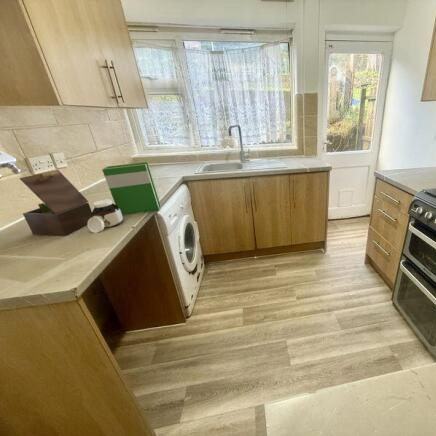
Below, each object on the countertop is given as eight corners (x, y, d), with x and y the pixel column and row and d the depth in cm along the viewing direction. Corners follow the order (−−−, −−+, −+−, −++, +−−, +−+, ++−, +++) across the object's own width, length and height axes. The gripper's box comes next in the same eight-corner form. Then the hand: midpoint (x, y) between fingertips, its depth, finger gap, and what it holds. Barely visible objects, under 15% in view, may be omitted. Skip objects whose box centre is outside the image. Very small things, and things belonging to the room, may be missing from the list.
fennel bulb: (66, 226, 110) (54, 201, 105) (53, 231, 106) (39, 205, 101) (59, 224, 112) (47, 200, 107) (46, 229, 108) (33, 204, 103)
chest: (33, 234, 106) (22, 213, 102) (65, 220, 119) (57, 201, 115) (66, 236, 103) (56, 214, 99) (95, 221, 117) (88, 202, 113)
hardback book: (160, 206, 133) (147, 162, 123) (159, 210, 126) (145, 164, 116) (123, 212, 127) (106, 166, 117) (120, 217, 121) (102, 169, 111)
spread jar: (126, 220, 117) (117, 197, 112) (120, 230, 107) (110, 205, 102) (96, 225, 113) (86, 201, 108) (87, 235, 103) (76, 210, 99)
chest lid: (19, 178, 95) (25, 172, 93) (57, 170, 108) (63, 164, 106) (55, 214, 99) (61, 208, 98) (87, 202, 113) (93, 196, 111)
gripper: (-13, 153, 102) (25, 175, 107) (-67, 162, 83) (-18, 187, 89) (-5, 141, 101) (33, 164, 106) (-59, 148, 82) (-9, 174, 88)
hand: (9, 175), depth 98 cm, fingers open, 8 cm apart
